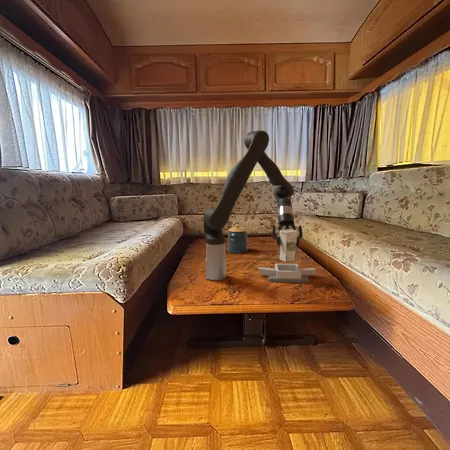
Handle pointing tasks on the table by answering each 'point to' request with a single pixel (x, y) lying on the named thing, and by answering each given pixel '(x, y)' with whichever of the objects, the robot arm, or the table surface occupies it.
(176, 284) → the table surface
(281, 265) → the base
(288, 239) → the syrup box
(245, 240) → the canister
